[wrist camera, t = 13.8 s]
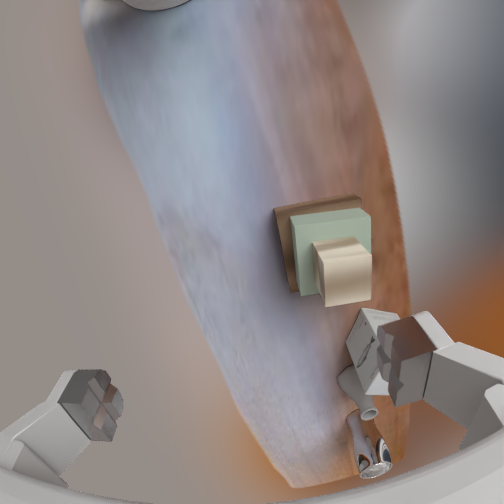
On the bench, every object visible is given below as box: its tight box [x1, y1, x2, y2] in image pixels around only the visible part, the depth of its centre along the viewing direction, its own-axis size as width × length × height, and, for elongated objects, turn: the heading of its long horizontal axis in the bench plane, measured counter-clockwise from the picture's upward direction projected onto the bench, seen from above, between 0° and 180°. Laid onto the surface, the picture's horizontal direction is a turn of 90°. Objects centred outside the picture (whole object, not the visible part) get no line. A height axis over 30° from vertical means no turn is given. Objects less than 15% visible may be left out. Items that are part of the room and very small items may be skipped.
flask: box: [337, 365, 378, 421], centre depth 49 cm, size 7×7×10 cm
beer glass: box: [346, 409, 392, 479], centre depth 52 cm, size 7×7×15 cm
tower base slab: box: [274, 193, 363, 293], centre depth 42 cm, size 11×11×4 cm
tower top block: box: [290, 208, 371, 296], centre depth 38 cm, size 9×9×4 cm
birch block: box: [312, 236, 372, 307], centre depth 33 cm, size 5×5×6 cm
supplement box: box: [346, 308, 400, 395], centre depth 43 cm, size 7×7×13 cm
